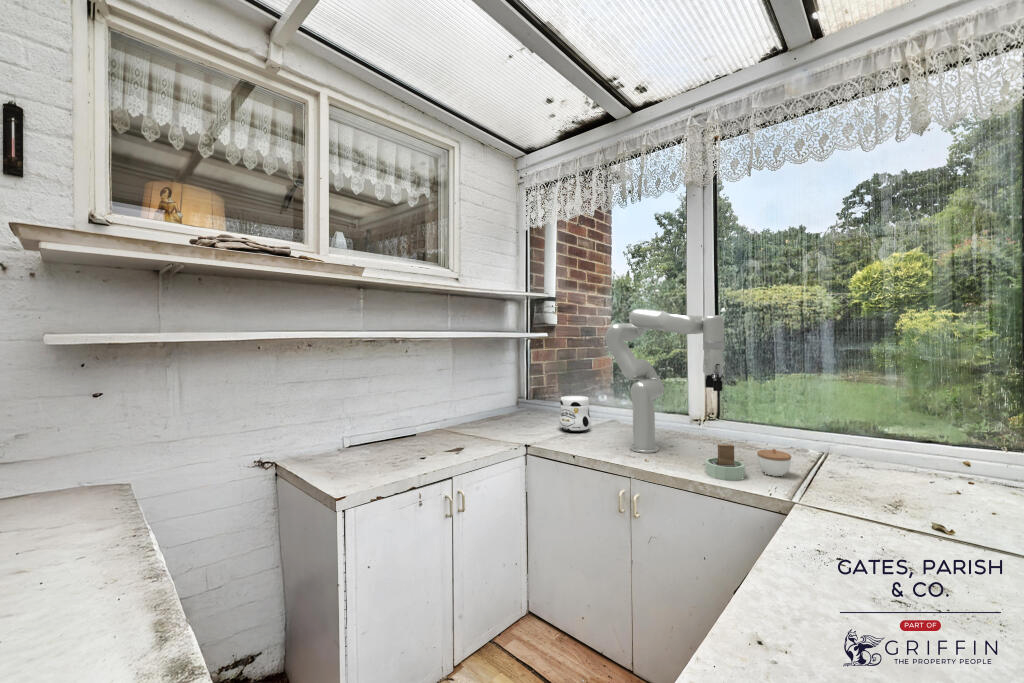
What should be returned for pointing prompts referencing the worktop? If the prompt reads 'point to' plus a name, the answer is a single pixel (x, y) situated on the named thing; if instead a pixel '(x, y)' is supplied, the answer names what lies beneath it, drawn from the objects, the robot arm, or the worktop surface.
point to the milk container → (574, 414)
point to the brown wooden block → (725, 454)
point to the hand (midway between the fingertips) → (713, 389)
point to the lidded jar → (774, 462)
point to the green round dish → (724, 469)
